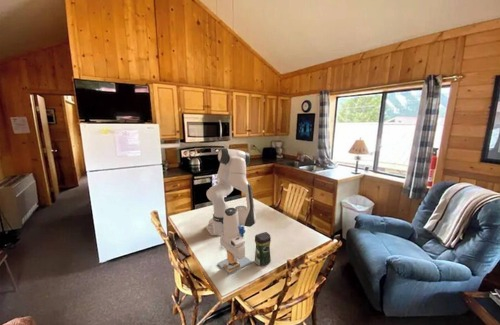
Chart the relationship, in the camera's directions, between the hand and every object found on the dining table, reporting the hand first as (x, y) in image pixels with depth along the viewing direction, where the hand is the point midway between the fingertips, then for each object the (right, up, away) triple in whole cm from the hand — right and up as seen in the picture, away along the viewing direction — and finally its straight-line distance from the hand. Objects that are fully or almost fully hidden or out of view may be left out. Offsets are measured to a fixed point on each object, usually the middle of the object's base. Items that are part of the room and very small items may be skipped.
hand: (231, 258), depth 124 cm
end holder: (0, -6, +1) cm, 6 cm away
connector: (0, -2, 0) cm, 2 cm away
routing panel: (+1, -6, +5) cm, 8 cm away
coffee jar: (+18, -6, +7) cm, 21 cm away
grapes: (+2, -1, +30) cm, 31 cm away
